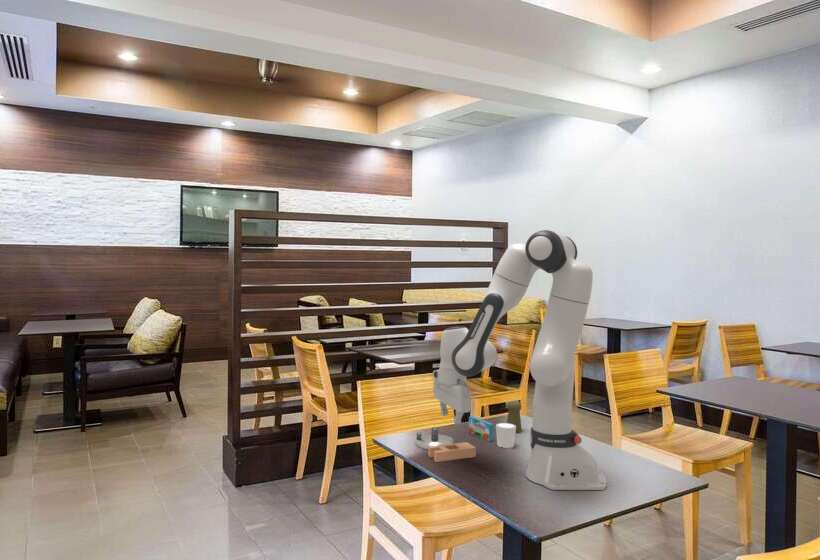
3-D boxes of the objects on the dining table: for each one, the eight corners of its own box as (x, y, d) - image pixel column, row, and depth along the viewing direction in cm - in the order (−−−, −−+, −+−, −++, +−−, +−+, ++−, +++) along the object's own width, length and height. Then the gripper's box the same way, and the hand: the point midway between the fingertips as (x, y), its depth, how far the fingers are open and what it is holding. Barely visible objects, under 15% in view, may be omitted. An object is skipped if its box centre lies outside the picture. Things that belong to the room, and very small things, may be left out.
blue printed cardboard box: (492, 441, 197) (492, 423, 197) (489, 441, 196) (489, 424, 196) (471, 432, 207) (471, 415, 207) (468, 432, 206) (468, 416, 206)
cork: (523, 433, 206) (523, 403, 206) (506, 433, 206) (507, 403, 206) (520, 428, 212) (520, 399, 212) (504, 428, 212) (505, 399, 212)
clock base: (455, 439, 197) (455, 424, 197) (451, 451, 185) (452, 435, 185) (418, 437, 200) (419, 422, 200) (412, 449, 187) (413, 432, 187)
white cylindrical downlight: (511, 450, 187) (511, 429, 187) (492, 446, 191) (492, 426, 191) (518, 444, 193) (519, 424, 193) (500, 441, 197) (500, 421, 197)
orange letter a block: (466, 451, 186) (467, 442, 185) (475, 456, 180) (475, 447, 180) (428, 455, 180) (428, 446, 180) (436, 462, 175) (436, 452, 175)
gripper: (477, 383, 171) (474, 427, 172) (447, 369, 190) (445, 410, 191) (458, 384, 169) (456, 429, 169) (430, 370, 188) (429, 411, 188)
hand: (450, 419), depth 180 cm, fingers open, 8 cm apart
